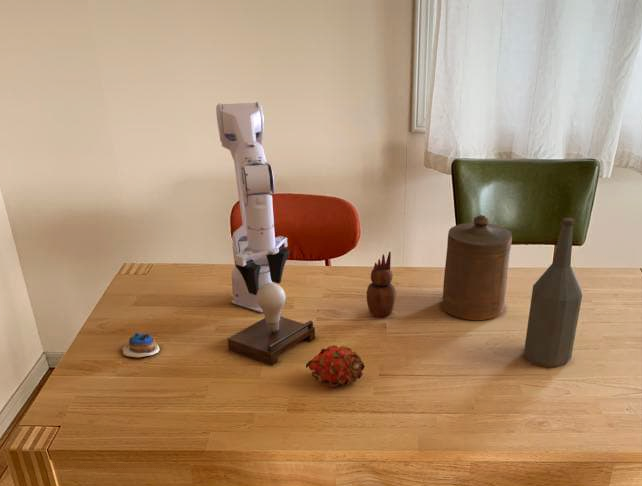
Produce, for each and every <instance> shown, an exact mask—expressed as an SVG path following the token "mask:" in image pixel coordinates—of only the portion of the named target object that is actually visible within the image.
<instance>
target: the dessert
mask: <svg viewBox="0 0 642 486" xmlns="http://www.w3.org/2000/svg"><path fill="white" fill-rule="evenodd" d="M121 350H122V355H124V356H126V357H133V358H143V357H147V356H153V355H155V354H158V353H159V351H160V347H159V345H158V343H157V342H155V340H154V337H153V336H151V335H150V334H149V333H139V332H135V333H134V335H132V336H131V337H130V338H129V340H128V343H126V344H124V346H123V347H122V349H121Z"/></svg>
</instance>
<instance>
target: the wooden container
mask: <svg viewBox="0 0 642 486" xmlns="http://www.w3.org/2000/svg"><path fill="white" fill-rule="evenodd" d="M512 240H513V235H512V232H511V231H510V230H509V229H507V228H505V227H503V226H501V225H497V224H492V223H490V220H489V218H488V217H487V216H486V215H481V214H480V215H477V216H474V218H473V222H465V223H459V224H456V225H454V226H451V227H450V228H449V230H448V234H447V245H446V247H447V248H446V255H445V264H444V266H445V267H444V274H443V285H442V286H443V288H442V302H441V303H442V304H441V306H442V308H443V310H444V311H445V312H446V313H448V314H449V315H451V316H453V317H456V318H458V319H463V320H469V321H484V320H485V321H486V320H490V319H494V318H497V317H499V316H500V315H502V313H503V311H504V309H505V302H506V294H507V287H508V286H507V285H508V275H509V274H508V273H509V265H510V264H509V263H510V253H511V248H512Z"/></svg>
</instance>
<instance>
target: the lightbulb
mask: <svg viewBox="0 0 642 486" xmlns="http://www.w3.org/2000/svg"><path fill="white" fill-rule="evenodd" d="M286 297H287V296H286V292H285V290H284V289H283V287H281V286H280V285H279V284H278V283H275V282H273V283H266V284H264V285H262V286H261V287H260V288H259V290H258V292H257V296H256V298H257V303H258V305H259V306H260V308H261V309H262V311H263V312H262V313H263V315H264V318H265V320H266V322H267V329H268V330H269V331H271V332H276V331H277V330H279V321H280V316H281V312H282V309H283V308H284V306H285V304H286V300H287V298H286Z"/></svg>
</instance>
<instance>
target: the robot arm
mask: <svg viewBox="0 0 642 486" xmlns="http://www.w3.org/2000/svg"><path fill="white" fill-rule="evenodd" d="M215 113H216V114H215V115H216V122H217V123H216V124H217V129H218V135H219V140H220V143H221V147H222V148H225V149H227V150H228V151H229V153H230V154H231V157H232V160H233V165H234V172H235V178H236V179H235V180H236V186H237V194H238V202H239V210H240V216H241V224H242V225H240V226H239V227H238V228H237V229H236V230H235V231H234V232H233V234H232V237H231V241H232V254H233V261H234V267H233V269H232V273H231V286H232V287H231V288H232V295H233V300H231V304H234V305H236V306H239V307H243V308H245V309H248V310H252V311H255V312H258V313H263V311H262V309H261V308H260V306H259V305H258V303H257V298H256V296H257V292H258V290H259V288H260V287H261V286H262V285H264V284H266V283H275V284H277V285H279V284H281V283H282V279H283V273H284V268H285V265H286V262H287V260H288V258H289V256H290V250H289V249H287V247H288V237H285V236H282V235H279V236H275V235H276V234H275V218H274V206H273V205H274V204H273V195H274V193H275V177H274V172H273V168H272V165H271V163H270V162H269V161H267V158H266V153H265V151H264V147H263V146H262V145H263V141H264V130H265V117H264V110H263V106H262V104H261V103H260V102H259V101H256V102H244V103H243V102H242V103H239V102H237V103H220V102H219V103H217V104H216V106H215Z"/></svg>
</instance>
